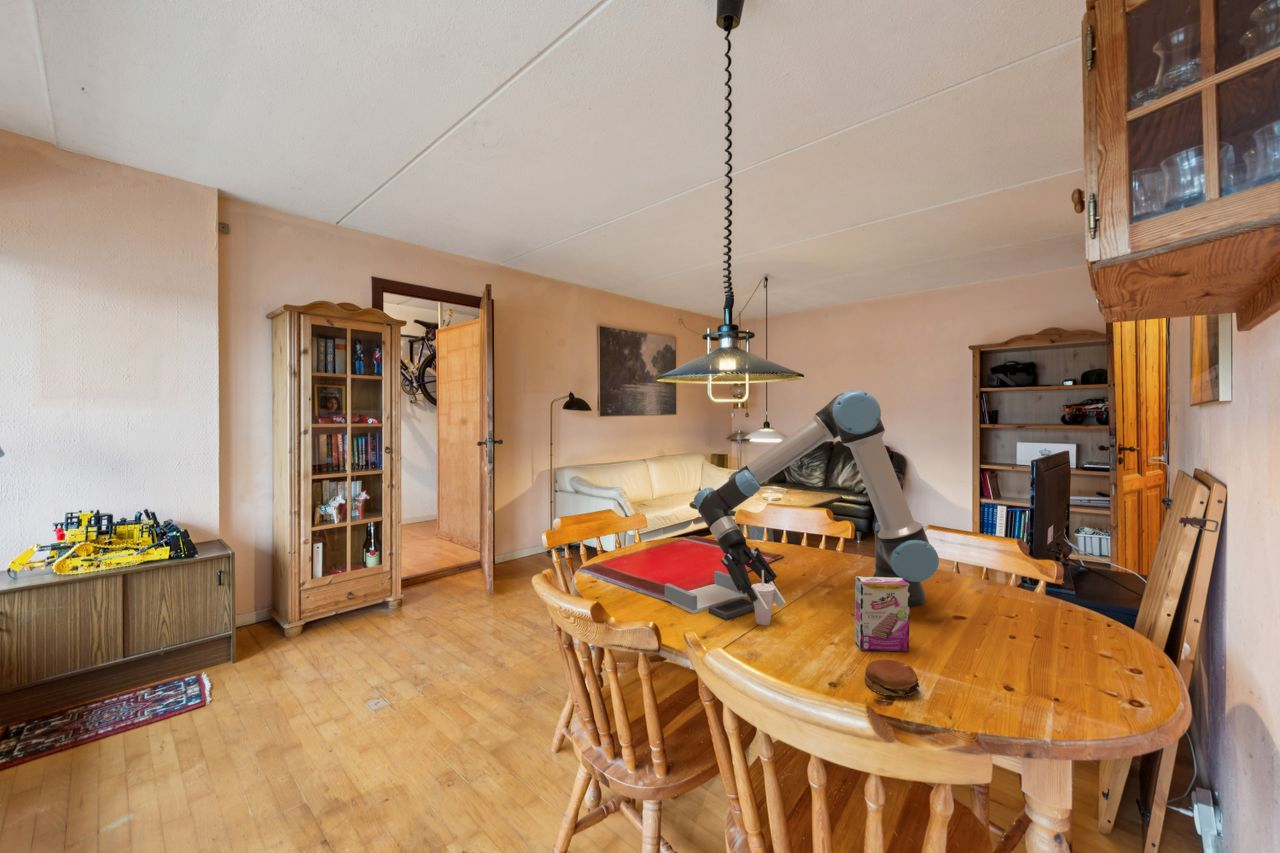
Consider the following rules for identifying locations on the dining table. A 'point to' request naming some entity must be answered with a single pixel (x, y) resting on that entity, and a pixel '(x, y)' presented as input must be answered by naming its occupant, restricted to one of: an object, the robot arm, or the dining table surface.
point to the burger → (891, 678)
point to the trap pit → (732, 608)
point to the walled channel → (704, 594)
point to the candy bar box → (882, 613)
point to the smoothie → (767, 596)
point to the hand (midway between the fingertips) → (773, 608)
